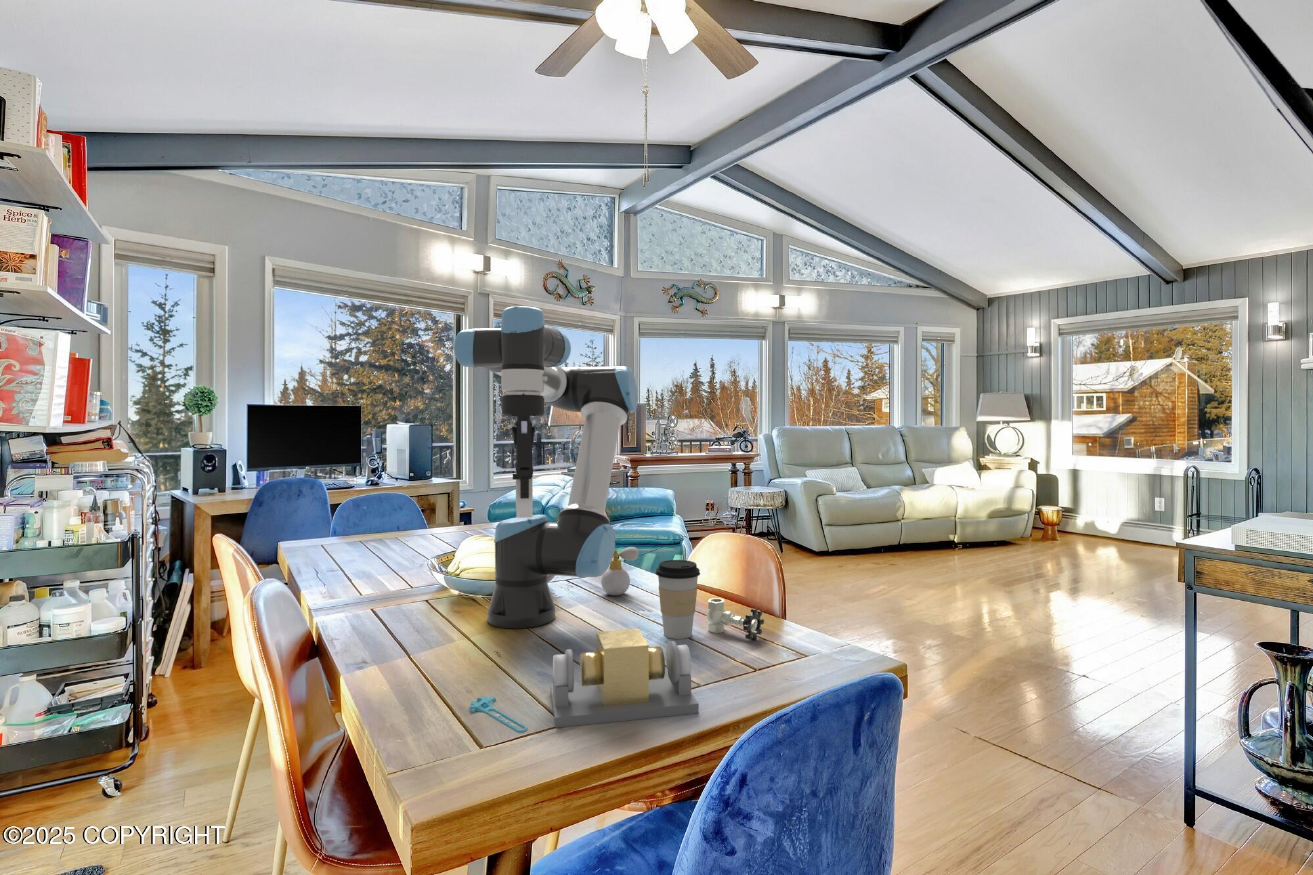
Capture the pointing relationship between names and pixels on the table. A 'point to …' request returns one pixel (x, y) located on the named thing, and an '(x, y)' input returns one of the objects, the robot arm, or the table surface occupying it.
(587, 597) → the table surface
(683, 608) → the coffee cup
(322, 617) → the table surface
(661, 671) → the brass gate valve
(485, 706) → the adjustable wrench
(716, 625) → the valve
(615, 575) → the perfume bottle
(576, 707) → the pipe run plate
